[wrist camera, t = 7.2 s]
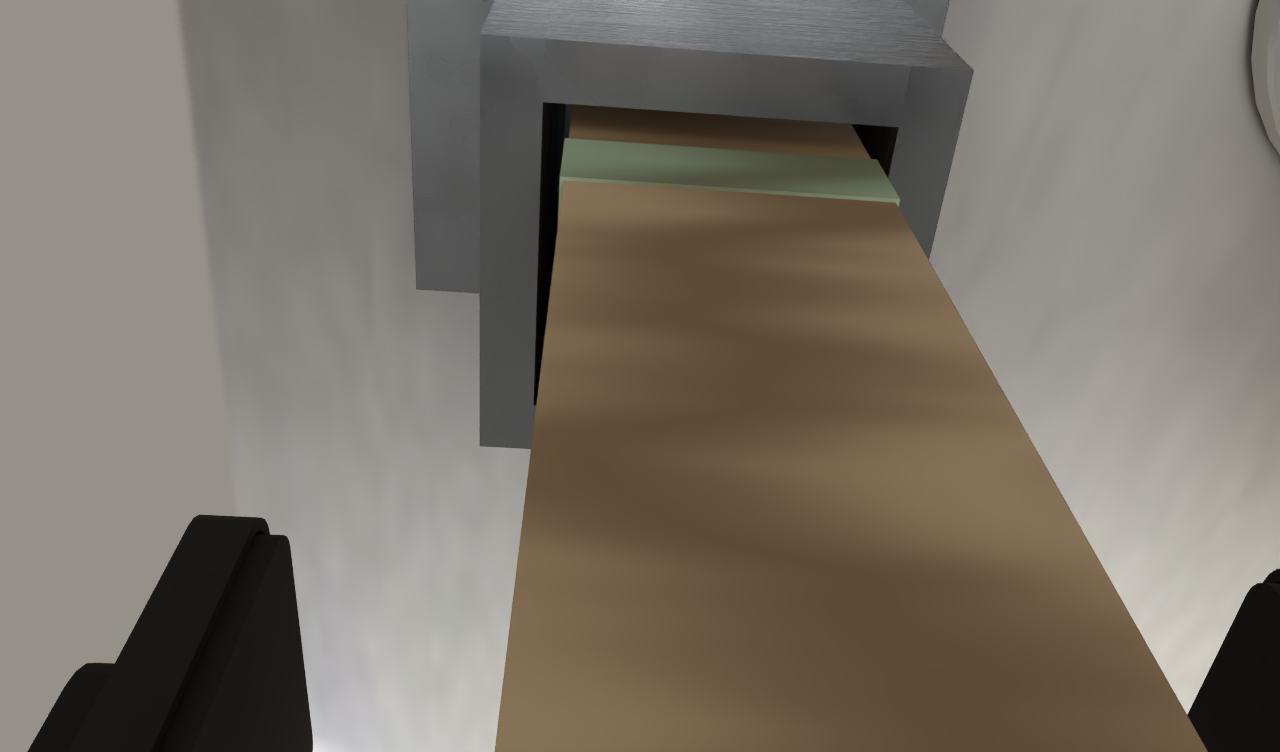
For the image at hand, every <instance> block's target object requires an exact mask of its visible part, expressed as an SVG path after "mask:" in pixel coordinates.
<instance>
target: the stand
mask: <svg viewBox="0 0 1280 752" xmlns="http://www.w3.org/2000/svg"><path fill="white" fill-rule="evenodd" d="M948 5H949V0H407V24H408V54H409V83H410V113H411V142H412V172H413V201H414V231H415V261H416V289H419V290H436V291H452V292H469V293H480V446H487V447H506V448H524V449H531V446H532V438H533V430H534V421H535V413H536V405H537V396H538V388H539V380H540V372H541V363H542V355H543V347H544V338H545V330H546V322H547V313H548V305H549V297H550V288H551V280H552V272H553V263H554V255H555V247H556V239H557V230H558V209H559V184H560V171H561V163H562V156H563V148H564V140H565V138H569V131H570V122H571V114H572V106H573V104H576V105H590V106H604V107H619V108H633V109H647V110H661V111H675V112H689V113H704V114H718V115H732V116H746V117H760V118H774V119H788V120H803V121H817V122H831V123H845V124H851V125H852V126H853V128H854V130H855V132H856V133H857V135H858V137H859V139H860V141H861V142H862V144H863V146H864V148H865V149H866V151H867V153H868V155H869V156H870V158H871V159H876V160H878V162H879V164H880V165H881V167H882V169H883V171H884V172H885V174H886V176H887V177H888V179H889V181H890V183H891V184H892V186H893V188H894V189H895V191H896V193H897V195H898V196H899V198H900V202H899V209H900V211H901V213H902V214H903V216H904V218H905V220H906V221H907V223H908V225H909V227H910V229H911V230H912V232H913V234H914V236H915V237H916V239H917V241H918V243H919V244H920V246H921V248H922V250H923V251H924V253H925V255H926V257H927V258H928V260H929V257H930V253H931V248H932V244H933V240H934V236H935V232H936V227H937V223H938V219H939V215H940V210H941V206H942V202H943V198H944V194H945V189H946V185H947V181H948V177H949V172H950V168H951V164H952V160H953V156H954V151H955V147H956V143H957V139H958V134H959V130H960V126H961V122H962V118H963V113H964V109H965V105H966V101H967V96H968V92H969V88H970V84H971V80H972V75H973V71H974V70H973V69H972V68H971V67H970V66H969V65H968V64H967V63H966V62H965V61H964V60H963V59H962V58H961V57H960V56H959V55H958V54H957V53H956V52H955V51H954V50H953V49H952V48H951V47H950V46H949V45H948V44H947V43H946V42H945V41H944V40H943V39H942V38H941V37H942V32H943V28H944V23H945V18H946V14H947V9H948Z"/></svg>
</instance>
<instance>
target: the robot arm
mask: <svg viewBox="0 0 1280 752" xmlns="http://www.w3.org/2000/svg"><path fill="white" fill-rule="evenodd" d="M1251 64H1252V73H1253V82H1254V91H1255V100H1256V104H1257V107H1258V110H1259V113H1260V116H1261V118H1262V121H1263V124H1264V127H1265V129H1266V132H1267V135H1268V138H1269V140H1270V141H1271V143H1272V144H1273V146H1274V147H1275V149H1276V150H1277V152H1278V153H1279V154H1280V0H1259V4H1258V7H1257V11H1256V14H1255V25H1254V35H1253V46H1252V57H1251ZM1187 716H1188V718H1189V719H1190V721H1191V723H1192V725H1193V727H1194V728H1195V730H1196V732H1197V734H1198V735H1199V737H1200V739H1201V741H1202V742H1203V744H1204V746H1205V748H1206V749H1207V751H1208V752H1280V569H1276V570H1275V571H1273V572H1272V573H1270V574H1269V575H1268V576H1267V578H1266V579H1265V580H1264V582H1263V583H1257V584H1256V585H1254V586H1253V587H1251V589H1250V590H1249V592H1248V593H1247V595H1246V597H1245V599H1244V601H1243V603H1242V605H1241V607H1240V609H1239V611H1238V613H1237V615H1236V617H1235V619H1234V621H1233V623H1232V625H1231V627H1230V629H1229V631H1228V633H1227V635H1226V638H1225V640H1224V642H1223V644H1222V646H1221V648H1220V650H1219V652H1218V654H1217V656H1216V658H1215V660H1214V662H1213V664H1212V666H1211V668H1210V670H1209V672H1208V674H1207V676H1206V678H1205V680H1204V682H1203V684H1202V686H1201V688H1200V690H1199V692H1198V694H1197V697H1196V699H1195V701H1194V703H1193V705H1192V707H1191V709H1190V711H1189V713H1188V715H1187ZM28 752H313V737H312V728H311V719H310V711H309V703H308V694H307V686H306V677H305V669H304V660H303V652H302V643H301V635H300V626H299V618H298V609H297V601H296V592H295V584H294V575H293V567H292V558H291V550H290V544H289V540H288V538H287V536H284V535H270V532H269V527H268V524H267V522H266V521H265V519H263V518H256V517H236V516H215V515H214V516H213V515H198V516H196V517H195V518H193V520H192V521H191V523H190V524H189V526H188V527H187V529H186V531H185V533H184V535H183V537H182V539H181V540H180V542H179V544H178V546H177V548H176V550H175V552H174V554H173V555H172V557H171V559H170V561H169V563H168V565H167V567H166V569H165V571H164V572H163V574H162V576H161V578H160V580H159V582H158V584H157V586H156V588H155V590H154V591H153V593H152V595H151V597H150V599H149V600H148V602H147V605H146V606H145V608H144V610H143V612H142V614H141V616H140V618H139V619H138V621H137V623H136V625H135V627H134V629H133V631H132V632H131V634H130V636H129V638H128V640H127V642H126V644H125V646H124V647H123V649H122V651H121V653H120V655H119V657H118V659H117V661H116V662H115V664H112V663H87V664H85V665H84V666H82V667H81V668H80V669H78V670H77V671H76V672H75V673H74V675H73V676H72V677H71V679H70V680H69V681H68V683H67V684H66V686H65V687H64V689H63V691H62V692H61V694H60V696H59V698H58V699H57V701H56V703H55V705H54V707H53V708H52V710H51V712H50V713H49V715H48V717H47V719H46V720H45V722H44V724H43V726H42V727H41V729H40V731H39V733H38V734H37V736H36V738H35V740H34V741H33V743H32V745H31V747H30V749H29V750H28Z"/></svg>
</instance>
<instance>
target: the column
mask: <svg viewBox="0 0 1280 752" xmlns="http://www.w3.org/2000/svg"><path fill="white" fill-rule="evenodd" d="M899 202H900V198H899V196H898V195H897V193H896V191H895V189H894V188H893V186H892V184H891V183H890V181H889V179H888V177H887V176H886V174H885V172H884V171H883V169H882V167H881V165H880V164H879V162H878V160H876V159H871V158H870V156H869V155H868V153H867V151H866V149H865V148H864V146H863V144H862V142H861V141H860V139H859V137H858V135H857V133H856V132H855V130H854V128H853V126H852V125H851V124H845V123H831V122H817V121H803V120H788V119H774V118H760V117H746V116H732V115H718V114H704V113H689V112H675V111H661V110H647V109H633V108H619V107H604V106H590V105H576V104H573V106H572V114H571V122H570V131H569V138H565V140H564V148H563V156H562V163H561V171H560V184H559V209H558V230H557V239H556V247H555V255H554V263H553V272H552V280H551V288H550V297H549V305H548V313H547V322H546V330H545V338H544V347H543V355H542V363H541V372H540V380H539V388H538V396H537V405H536V413H535V421H534V430H533V438H532V446H531V455H530V463H529V471H528V480H527V488H526V496H525V505H524V513H523V521H522V529H521V538H520V546H519V554H518V563H517V571H516V579H515V588H514V596H513V604H512V613H511V621H510V629H509V638H508V646H507V654H506V662H505V671H504V679H503V687H502V696H501V704H500V712H499V721H498V729H497V737H496V746H495V752H1208V751H1207V749H1206V748H1205V746H1204V744H1203V742H1202V741H1201V739H1200V737H1199V735H1198V734H1197V732H1196V730H1195V728H1194V727H1193V725H1192V723H1191V721H1190V719H1189V718H1188V716H1187V714H1186V712H1185V711H1184V709H1183V707H1182V705H1181V704H1180V702H1179V700H1178V698H1177V697H1176V695H1175V693H1174V691H1173V690H1172V688H1171V686H1170V684H1169V683H1168V681H1167V679H1166V677H1165V675H1164V674H1163V672H1162V670H1161V668H1160V667H1159V665H1158V663H1157V661H1156V660H1155V658H1154V656H1153V654H1152V653H1151V651H1150V649H1149V647H1148V646H1147V644H1146V642H1145V640H1144V639H1143V637H1142V635H1141V633H1140V631H1139V630H1138V628H1137V626H1136V624H1135V623H1134V621H1133V619H1132V617H1131V616H1130V614H1129V612H1128V610H1127V609H1126V607H1125V605H1124V603H1123V602H1122V600H1121V598H1120V596H1119V595H1118V593H1117V591H1116V589H1115V588H1114V586H1113V584H1112V582H1111V580H1110V579H1109V577H1108V575H1107V573H1106V572H1105V570H1104V568H1103V566H1102V565H1101V563H1100V561H1099V559H1098V558H1097V556H1096V554H1095V552H1094V551H1093V549H1092V547H1091V545H1090V544H1089V542H1088V540H1087V538H1086V536H1085V535H1084V533H1083V531H1082V529H1081V528H1080V526H1079V524H1078V522H1077V521H1076V519H1075V517H1074V515H1073V514H1072V512H1071V510H1070V508H1069V507H1068V505H1067V503H1066V501H1065V500H1064V498H1063V496H1062V494H1061V492H1060V491H1059V489H1058V487H1057V485H1056V484H1055V482H1054V480H1053V478H1052V477H1051V475H1050V473H1049V471H1048V470H1047V468H1046V466H1045V464H1044V463H1043V461H1042V459H1041V457H1040V456H1039V454H1038V452H1037V450H1036V448H1035V447H1034V445H1033V443H1032V441H1031V440H1030V438H1029V436H1028V434H1027V433H1026V431H1025V429H1024V427H1023V426H1022V424H1021V422H1020V420H1019V419H1018V417H1017V415H1016V413H1015V412H1014V410H1013V408H1012V406H1011V404H1010V403H1009V401H1008V399H1007V397H1006V396H1005V394H1004V392H1003V390H1002V389H1001V387H1000V385H999V383H998V382H997V380H996V378H995V376H994V375H993V373H992V371H991V369H990V368H989V366H988V364H987V362H986V361H985V359H984V357H983V355H982V353H981V352H980V350H979V348H978V346H977V345H976V343H975V341H974V339H973V338H972V336H971V334H970V332H969V331H968V329H967V327H966V325H965V324H964V322H963V320H962V318H961V317H960V315H959V313H958V311H957V309H956V308H955V306H954V304H953V302H952V301H951V299H950V297H949V295H948V294H947V292H946V290H945V288H944V287H943V285H942V283H941V281H940V280H939V278H938V276H937V274H936V273H935V271H934V269H933V267H932V265H931V264H930V262H929V260H928V258H927V257H926V255H925V253H924V251H923V250H922V248H921V246H920V244H919V243H918V241H917V239H916V237H915V236H914V234H913V232H912V230H911V229H910V227H909V225H908V223H907V221H906V220H905V218H904V216H903V214H902V213H901V211H900V209H899Z"/></svg>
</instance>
